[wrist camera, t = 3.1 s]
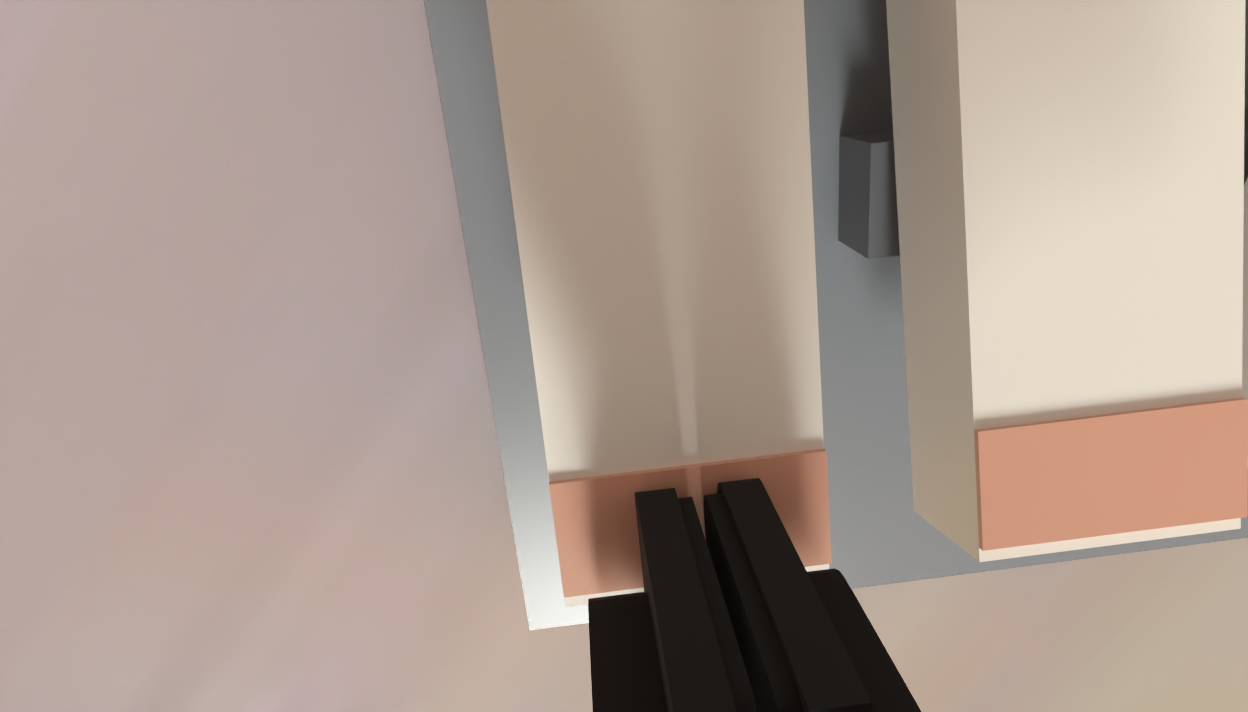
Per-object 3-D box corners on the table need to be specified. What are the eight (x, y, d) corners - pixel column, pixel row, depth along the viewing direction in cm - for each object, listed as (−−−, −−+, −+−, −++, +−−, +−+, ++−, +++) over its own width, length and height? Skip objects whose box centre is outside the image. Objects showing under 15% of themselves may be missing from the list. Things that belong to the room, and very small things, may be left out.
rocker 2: (880, -99, 11) (952, -182, 9) (1126, -120, 11) (1254, -207, 9) (913, 511, 12) (983, 564, 10) (1133, 484, 12) (1246, 531, 10)
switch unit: (408, -289, 14) (321, -496, 9) (1320, -358, 14) (1732, -586, 9) (534, 523, 20) (527, 680, 15) (1168, 445, 20) (1367, 569, 15)
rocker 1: (486, -81, 10) (466, -146, 8) (753, -104, 10) (798, -175, 8) (566, 539, 12) (565, 611, 10) (788, 512, 12) (832, 576, 10)
